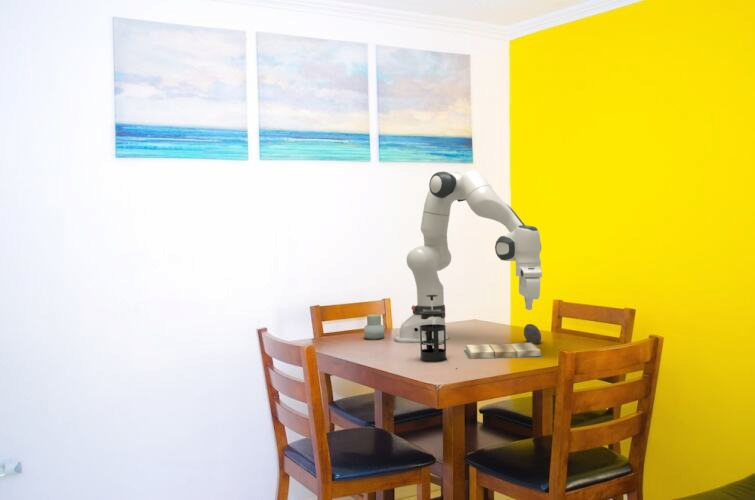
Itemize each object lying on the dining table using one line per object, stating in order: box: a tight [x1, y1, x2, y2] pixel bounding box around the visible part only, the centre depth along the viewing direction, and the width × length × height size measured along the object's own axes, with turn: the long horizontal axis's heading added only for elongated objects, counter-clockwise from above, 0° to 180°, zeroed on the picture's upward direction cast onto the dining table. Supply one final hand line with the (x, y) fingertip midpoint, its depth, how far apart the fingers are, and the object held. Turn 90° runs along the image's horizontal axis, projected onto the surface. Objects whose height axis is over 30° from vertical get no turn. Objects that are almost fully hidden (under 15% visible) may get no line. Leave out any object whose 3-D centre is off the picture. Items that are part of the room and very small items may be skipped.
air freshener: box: [363, 313, 385, 340], centre depth 299 cm, size 11×8×10 cm
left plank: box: [465, 344, 494, 358], centre depth 252 cm, size 8×16×2 cm, turn 179°
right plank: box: [509, 342, 542, 357], centre depth 251 cm, size 8×16×2 cm, turn 179°
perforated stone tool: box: [523, 323, 542, 345], centre depth 275 cm, size 15×5×7 cm, turn 179°
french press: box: [419, 295, 448, 363], centre depth 248 cm, size 12×9×23 cm
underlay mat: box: [463, 349, 544, 360], centre depth 251 cm, size 26×18×1 cm
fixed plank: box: [488, 343, 517, 359], centre depth 251 cm, size 7×16×2 cm, turn 179°
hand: (528, 309), depth 251 cm, fingers closed
